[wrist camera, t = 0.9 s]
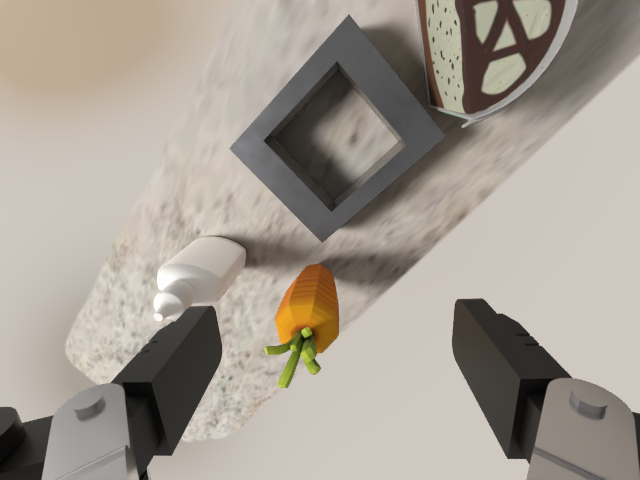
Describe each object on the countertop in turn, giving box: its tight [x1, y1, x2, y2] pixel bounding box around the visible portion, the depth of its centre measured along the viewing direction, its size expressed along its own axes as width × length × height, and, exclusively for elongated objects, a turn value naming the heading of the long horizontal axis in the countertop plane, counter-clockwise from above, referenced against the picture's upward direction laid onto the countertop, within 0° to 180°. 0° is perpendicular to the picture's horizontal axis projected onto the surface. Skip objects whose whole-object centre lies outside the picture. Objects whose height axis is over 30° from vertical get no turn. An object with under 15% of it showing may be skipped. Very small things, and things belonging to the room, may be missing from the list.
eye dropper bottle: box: [154, 236, 246, 322], centre depth 28 cm, size 4×6×12 cm
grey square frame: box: [230, 15, 446, 243], centre depth 27 cm, size 13×11×4 cm
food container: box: [415, 0, 578, 128], centre depth 20 cm, size 12×6×10 cm, turn 14°
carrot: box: [264, 264, 339, 388], centre depth 26 cm, size 5×5×15 cm
